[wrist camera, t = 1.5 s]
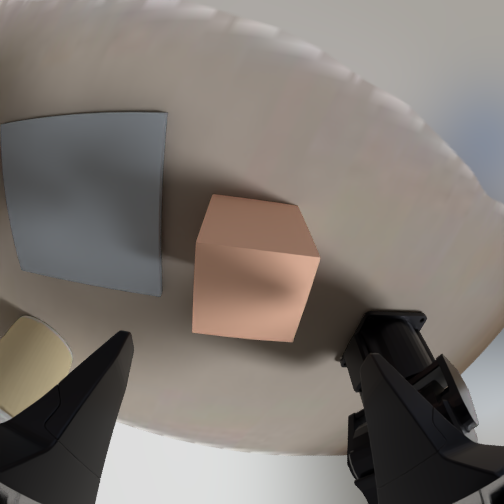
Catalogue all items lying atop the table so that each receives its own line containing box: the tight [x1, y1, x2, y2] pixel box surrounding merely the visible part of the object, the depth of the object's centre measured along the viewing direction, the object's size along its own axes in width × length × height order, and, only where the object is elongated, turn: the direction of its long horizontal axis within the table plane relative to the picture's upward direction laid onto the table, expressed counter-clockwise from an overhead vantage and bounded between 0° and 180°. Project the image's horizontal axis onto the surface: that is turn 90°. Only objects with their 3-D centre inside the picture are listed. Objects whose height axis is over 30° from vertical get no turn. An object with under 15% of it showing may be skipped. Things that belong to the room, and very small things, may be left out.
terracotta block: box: [192, 194, 320, 342], centre depth 15 cm, size 5×5×6 cm
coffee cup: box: [0, 316, 72, 423], centre depth 18 cm, size 9×9×12 cm
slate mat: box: [1, 112, 168, 297], centre depth 16 cm, size 13×12×1 cm
